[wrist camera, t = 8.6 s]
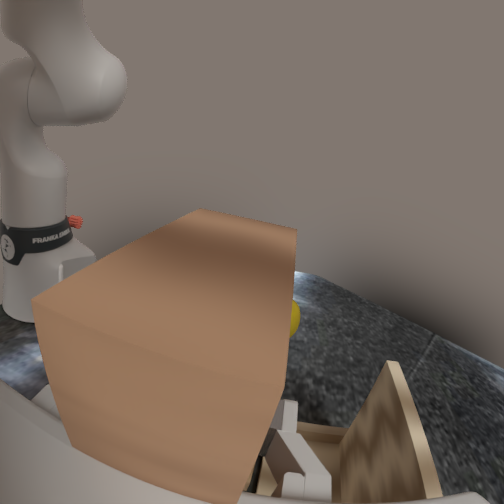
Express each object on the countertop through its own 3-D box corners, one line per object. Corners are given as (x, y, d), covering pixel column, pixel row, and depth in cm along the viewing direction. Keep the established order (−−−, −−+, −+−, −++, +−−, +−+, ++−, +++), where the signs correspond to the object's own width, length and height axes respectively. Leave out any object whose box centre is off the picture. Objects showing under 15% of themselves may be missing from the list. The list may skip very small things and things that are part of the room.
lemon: (279, 355, 43) (292, 309, 41) (251, 337, 47) (261, 292, 44) (299, 342, 48) (312, 299, 45) (272, 327, 51) (283, 285, 48)
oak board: (178, 419, 16) (200, 208, 12) (241, 437, 16) (297, 229, 12) (121, 536, 8) (30, 299, 4) (205, 564, 7) (284, 387, 3)
